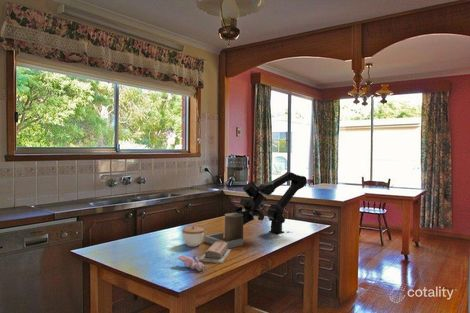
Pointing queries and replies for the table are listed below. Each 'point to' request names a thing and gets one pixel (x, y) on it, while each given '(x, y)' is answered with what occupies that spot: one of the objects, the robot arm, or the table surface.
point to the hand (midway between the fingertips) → (240, 225)
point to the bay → (218, 236)
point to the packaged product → (216, 252)
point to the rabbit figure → (192, 262)
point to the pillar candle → (233, 226)
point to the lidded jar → (193, 235)
